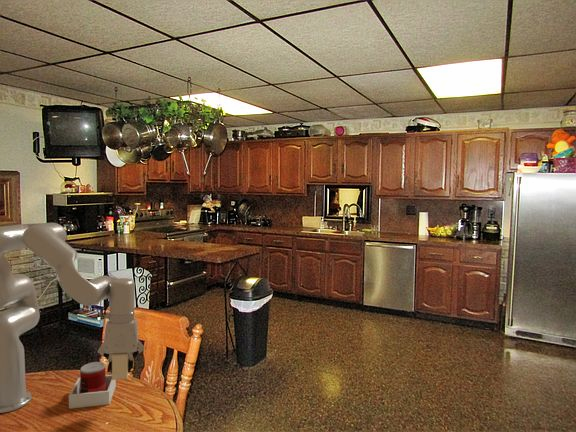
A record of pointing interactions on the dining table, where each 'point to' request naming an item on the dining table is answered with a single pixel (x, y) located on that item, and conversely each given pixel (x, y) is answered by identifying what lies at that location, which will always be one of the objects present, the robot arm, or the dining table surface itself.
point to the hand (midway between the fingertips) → (121, 370)
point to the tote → (91, 395)
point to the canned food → (93, 377)
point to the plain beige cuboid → (120, 366)
